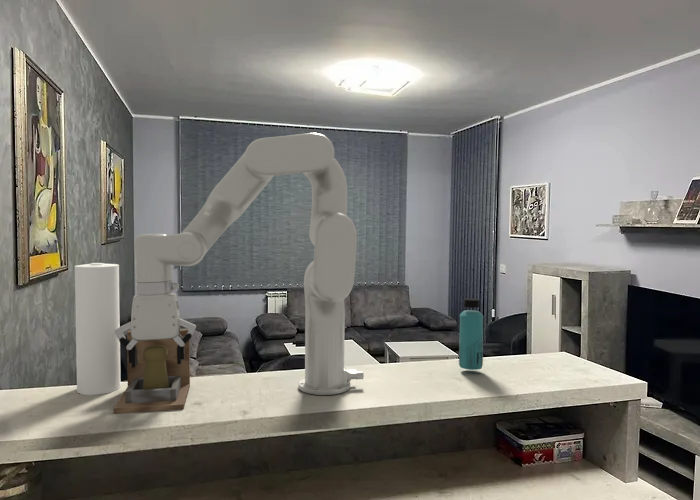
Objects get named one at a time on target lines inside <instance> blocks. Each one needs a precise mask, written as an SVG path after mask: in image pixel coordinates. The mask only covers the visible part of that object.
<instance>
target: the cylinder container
mask: <svg viewBox="0 0 700 500" xmlns="http://www.w3.org/2000/svg"><path fill="white" fill-rule="evenodd" d="M74 295H75V296H74V299H75V301H74V302H75V303H74V304H75V305H74V306H75V349H76V350H75V353H76V354H75V357H76V359H75V360H76V362H75V363H76V393H78V394H79V393H80V394H79V395H83V396H84V395H85V396H95V395H105V394H108V393H109V394H110V393H113V392H115V391H117V390H120V388H121V382H122V380H121V343H120V342H119V339H118V338H117V336H116V335H115V333H114V331H115V330H116V329H118V328H119V327H121V325H120V324H121V323H120V321H121V320H120V319H121V317H120V314H121V313H120V264H117V263H104V262H90V263H86V264H79V265H78V264H77V265H74Z"/></svg>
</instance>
